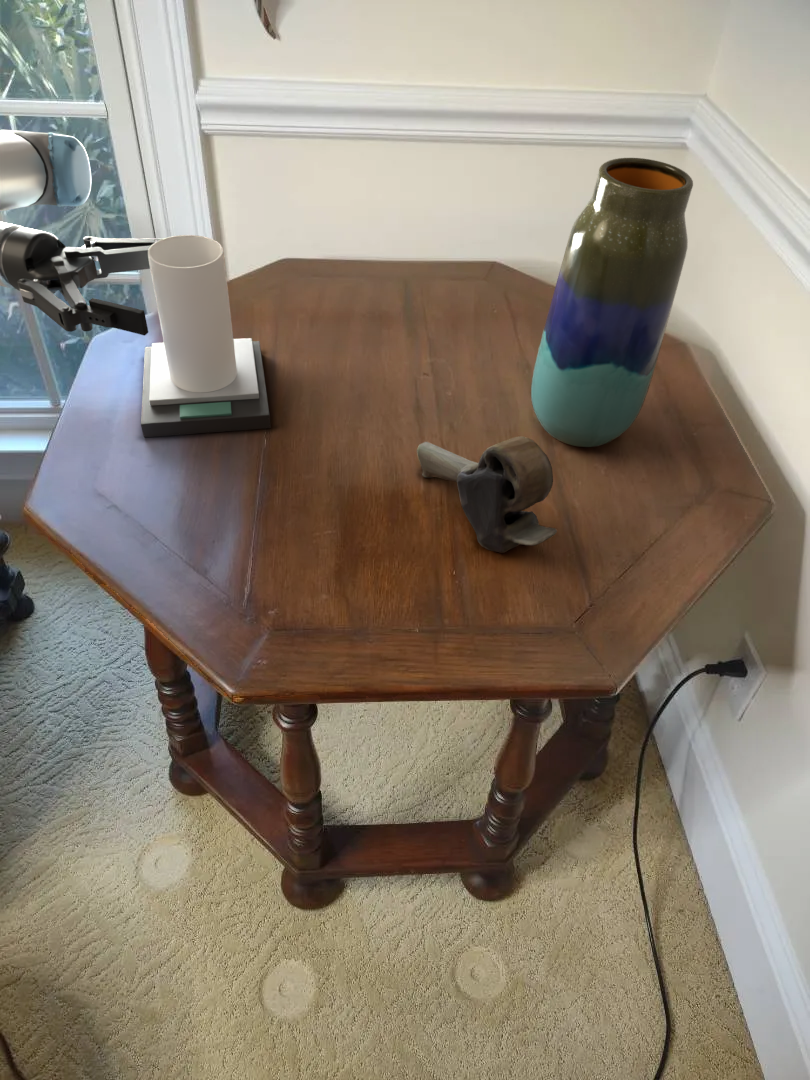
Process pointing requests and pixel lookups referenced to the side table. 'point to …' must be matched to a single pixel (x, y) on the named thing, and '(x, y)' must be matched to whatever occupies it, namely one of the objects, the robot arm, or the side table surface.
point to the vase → (612, 302)
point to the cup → (194, 311)
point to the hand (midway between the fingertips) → (176, 295)
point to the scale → (204, 397)
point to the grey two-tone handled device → (497, 489)
